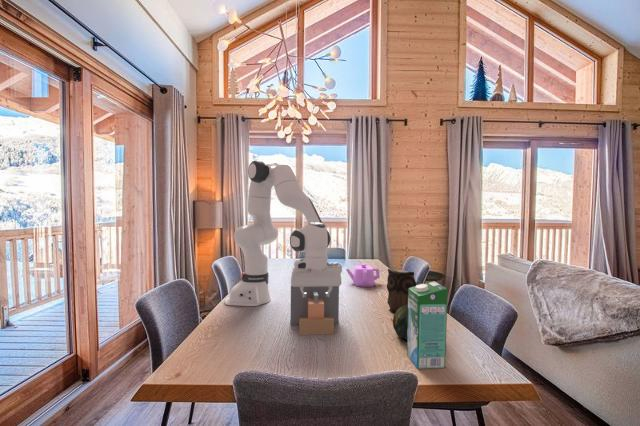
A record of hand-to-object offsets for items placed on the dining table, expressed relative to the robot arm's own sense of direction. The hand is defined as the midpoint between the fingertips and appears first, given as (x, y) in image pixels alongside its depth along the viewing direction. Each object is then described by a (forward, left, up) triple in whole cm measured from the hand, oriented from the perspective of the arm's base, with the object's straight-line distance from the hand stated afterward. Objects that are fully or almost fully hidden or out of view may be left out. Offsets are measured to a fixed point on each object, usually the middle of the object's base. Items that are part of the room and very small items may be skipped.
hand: (315, 297), depth 128 cm
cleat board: (0, +2, -13) cm, 13 cm away
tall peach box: (0, 0, -10) cm, 10 cm away
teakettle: (+35, +67, -13) cm, 77 cm away
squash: (+36, -12, -13) cm, 40 cm away
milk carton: (+33, -29, -13) cm, 46 cm away
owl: (+43, +16, -13) cm, 48 cm away
